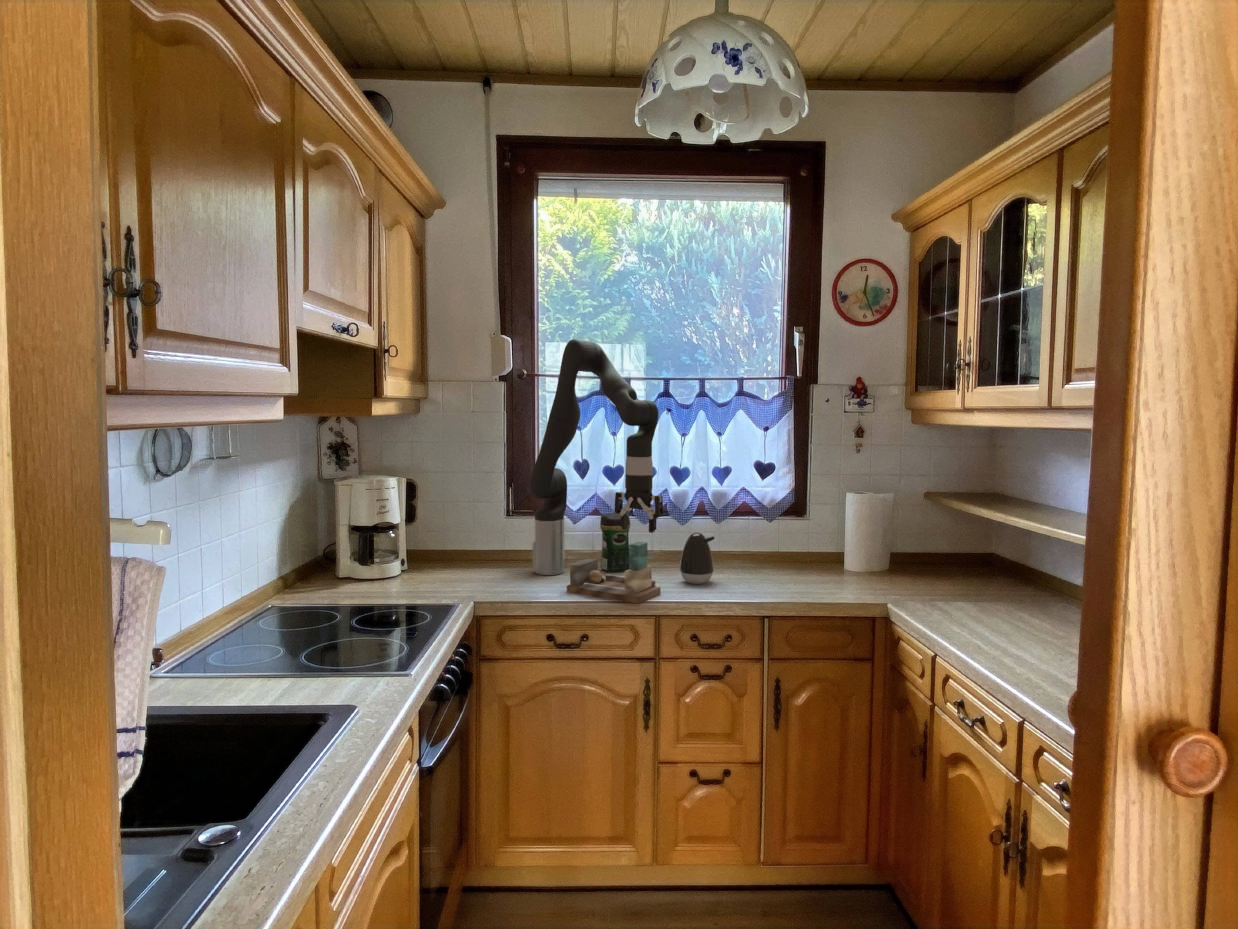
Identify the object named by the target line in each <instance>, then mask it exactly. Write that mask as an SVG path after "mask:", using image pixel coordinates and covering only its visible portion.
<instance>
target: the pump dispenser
mask: <svg viewBox="0 0 1238 929" xmlns="http://www.w3.org/2000/svg"><path fill="white" fill-rule="evenodd" d="M714 540H715V536H714V535H713V536H712V535H711V536H708V537H705V535H704V534H702V533H701V532H693V533H691V534H690V535H689V536H688V538H687V539H686V541H685V544H684V546H683V549H682V552H681V556H680V562H679V572H680V574H681V577H682V579H683V580H684V581H685V583H686V582H687V583H688V584H690V585H691V584H692V585H704V584H706V583H708V582H709V581H710V580H711V579H712V576H713V573H714V571H715V568H714V565H715V564H714V558H713V554H712V550H711V547H710V544H709V542H712V541H714Z"/></svg>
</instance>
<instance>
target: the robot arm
mask: <svg viewBox="0 0 1238 929" xmlns="http://www.w3.org/2000/svg"><path fill="white" fill-rule="evenodd" d="M579 372H584V373H592V374H594V375H596V376H597V378H599V379H600V387H601V391H602V392H603V393H604V395H605V397H607V399H608V400H609V401H610V402H611V403H612V405H614V406H615V408H616V411H617V414H618V416H619V418H620V420H621V421H622V422H623V423H624V424H625V425H627V426H631V427H638V430H637V432H636V433H634V434H631V435H628V437H627V439H626V449H625V452H626V455H625V456H626V458H625V466H624V467H625V470H624V471H625V476H624V478H625V479H624V480H625V484H624V485H625V486H624V488H625V492H623V491H621V490H620V491H617V492H615V495H614V496H615V497H614V510H613V513H618V514H620V516H621V527H622V529H628V516H627V514H628V515H629V513H630V511H632V510H639V511H642V510H643V511H644V512H645V513H646V514H647V516H648V518H649V519H648V533H651V534H652V533H654V532H655V531H657V519H658V518H662V517H663V516H664V500H663V498H664V497H663V495H662V494H658V495H653V493H652V492H653V479H654V478H653V473H654V469H653V468H654V467H653V440H654V437H655V434H656V433H655V432H656V429H657V426H658V422H659V414H660V413H659V408H658V406H657V404H656V403H655V402H654V401H653V400H649V399H641V400H640V399H638V395H637V392H636V390H635V388H634V387H632V386H631V385H630V383H628V381H627V380H625V378H623V377H622V376H621V374H620V373H619V372H618V371H617V369H616V367H615V366H614V364H613V363H612V361H611V360H610V358H609V357H608V355H607V354H606V352H605V351H604V350H603V348H602V347H601V345H599V344H598V343H597V342H595V341H589V340H585V339H577V338H574V339H573V338H572V339H571V340H569V341H567V343H566V345H565V347H564V350H563V353H562V358H561V364H560V370H559V376H558V380H557V381H558V382H557V386H556V391H555V395H554V398H553V402H552V406H551V409H550V412H549V415H548V420H547V423H546V428H545V431H544V432H545V433H544V436H543V439H542V442H541V446H540V449H539V452H538V455H537V458H536V460H535V463H534V466H533V468H532V470H531V474H530V476H529V482H528V483H529V484H528V487H529V491H530V493H531V495H532V496H533V498H535V499H540V500H541V499H543V501H542V504H541V505H540V506H539V507H538V508H537V509H536V510H534V542H533V543H532V572H533V573H536V574H537V575H543V576H555V575H561V574H564V573H565V522H564V521H565V513H566V511H567V505H568V504H567V502H568V500H567V499H568V481H567V476H566V474H565V473H564V471H563V470H562V469H560V468H558V467H556V466H557V463H558V461H559V459H560V457H561V455H562V454H563V453H564V451H565V450H566V449H567V447H568V446H569V445H570V444H571V442H572V441H573V439H574V438H575V435H576V433H577V430H578V426H579V422H580V420H581V408H580V404H579V401H578V397H577V394H576V393H577V392H576V382H577V378H578V373H579ZM624 499H625V500H626V501H625V502H626V503H625V504H623V503H624ZM652 501H653V503H654V506H653V504H652Z"/></svg>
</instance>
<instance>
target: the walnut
mask: <svg viewBox="0 0 1238 929" xmlns="http://www.w3.org/2000/svg"><path fill="white" fill-rule="evenodd" d="M602 578H603V574H602V573H601V571H600V570H599V569H598V570H593V571H591V572H590V573H589V575H588V579H589V581H593V582H595V584H597V583H599V582H600V581H601V580H602Z"/></svg>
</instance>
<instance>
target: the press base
mask: <svg viewBox="0 0 1238 929" xmlns="http://www.w3.org/2000/svg"><path fill="white" fill-rule="evenodd" d="M598 562H599V561H598V558H591V557H588V558H585V559H583V560H580V561H579V560H578V561H577V562H574V563H571V564H569V578H570V579H569V580H570V581H569V582H570V583H569V584H568V585H566V593H568V594H575V595H582V596H588V597H592V598H594V597H595V598H599V597H601V599H605V598H607V599H606V600H613V601H619V602H626V603H632V604H638V605H640V604H643V603H645V602H648V600H651V599H653V598H655V597H657V596H660V595H661V593H662V592H661V588H662V587H661V586H656V580H652V586H651V587H649V588H647V589H644V590H642V591H640V592H638V593H635V590H632V589H626V588H625V575H623V576H622V575H616V574H609V573H608V574H605V578H604V577H602V580H601V581H600V582H599V583H597V584H595V582H593V581H589V579H588V575H589V573H590V572H591V571H593V570H598V571H599V565H598V564H599V563H598Z"/></svg>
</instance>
